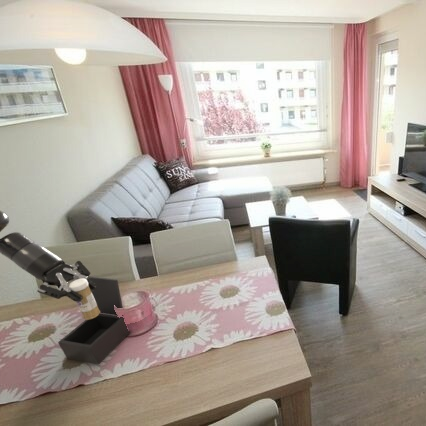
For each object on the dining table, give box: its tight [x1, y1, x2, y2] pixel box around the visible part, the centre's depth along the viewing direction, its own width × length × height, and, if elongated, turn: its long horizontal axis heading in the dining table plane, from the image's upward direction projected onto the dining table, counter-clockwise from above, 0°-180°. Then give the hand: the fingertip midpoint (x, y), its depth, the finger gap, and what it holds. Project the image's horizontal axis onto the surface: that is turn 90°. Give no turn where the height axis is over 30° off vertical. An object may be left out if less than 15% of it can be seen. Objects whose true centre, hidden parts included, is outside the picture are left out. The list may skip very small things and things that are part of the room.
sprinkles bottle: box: [68, 278, 100, 321], centre depth 93 cm, size 5×5×14 cm
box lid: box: [88, 275, 124, 317], centre depth 107 cm, size 14×13×1 cm
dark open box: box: [57, 313, 131, 365], centre depth 105 cm, size 14×13×8 cm
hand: (88, 294), depth 92 cm, fingers closed on sprinkles bottle, 4 cm apart
